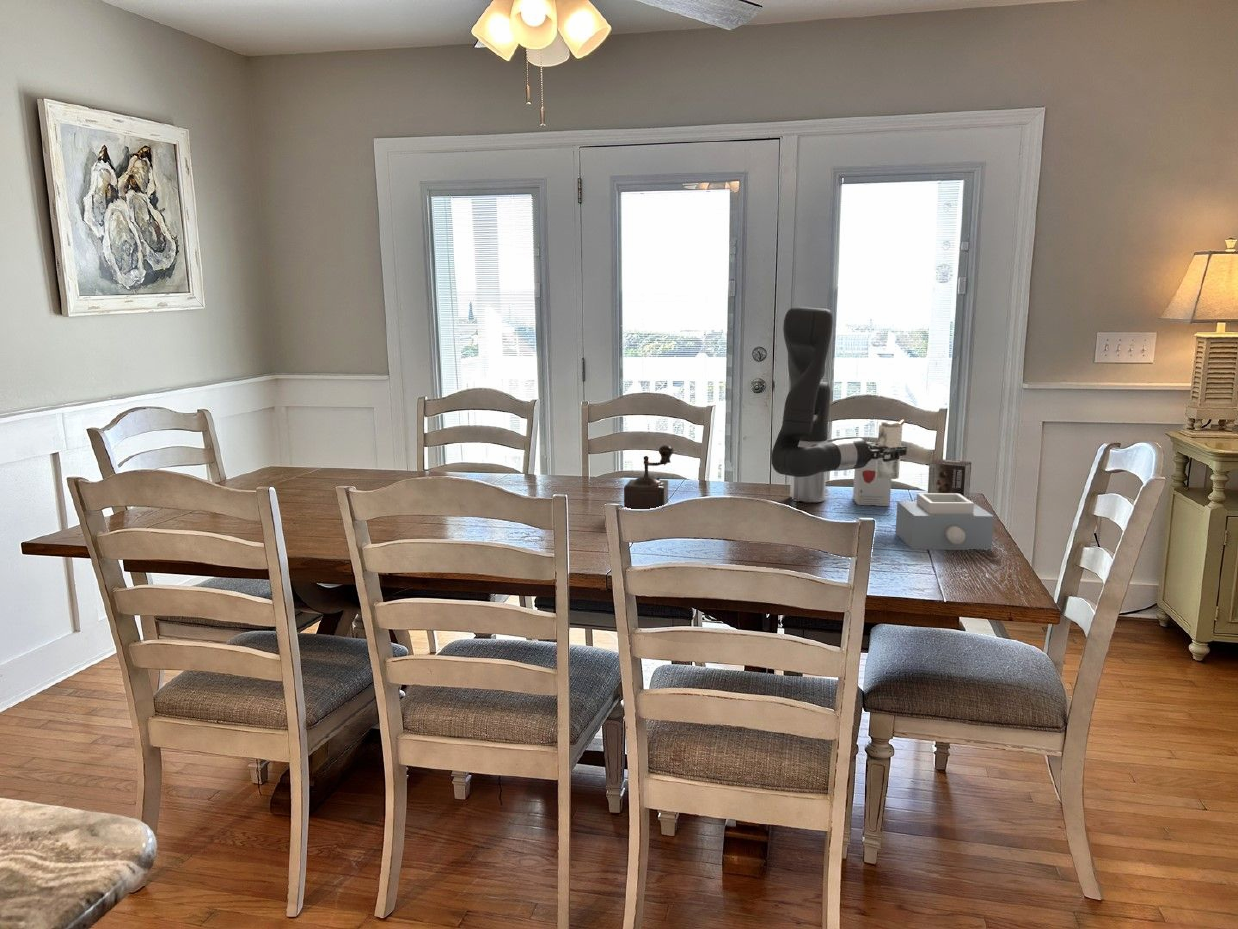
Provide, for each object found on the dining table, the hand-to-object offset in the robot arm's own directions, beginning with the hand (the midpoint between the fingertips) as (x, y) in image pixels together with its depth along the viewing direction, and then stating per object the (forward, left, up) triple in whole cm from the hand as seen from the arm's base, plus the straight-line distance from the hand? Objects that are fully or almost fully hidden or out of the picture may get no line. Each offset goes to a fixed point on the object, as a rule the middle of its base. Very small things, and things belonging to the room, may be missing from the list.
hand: (896, 448), depth 231 cm
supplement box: (0, +21, -19) cm, 28 cm away
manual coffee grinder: (-62, +4, -19) cm, 65 cm away
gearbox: (+7, -20, -19) cm, 28 cm away
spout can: (-2, -1, -7) cm, 7 cm away
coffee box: (+13, -3, -19) cm, 23 cm away
